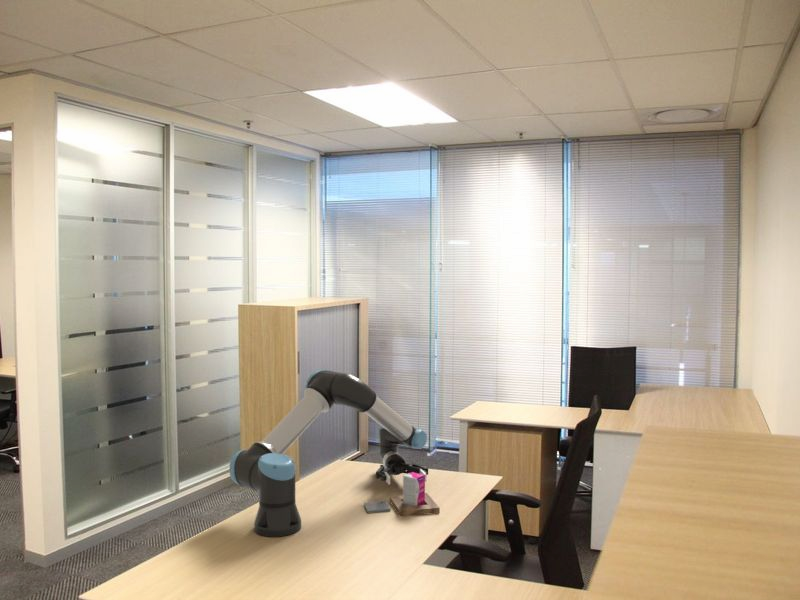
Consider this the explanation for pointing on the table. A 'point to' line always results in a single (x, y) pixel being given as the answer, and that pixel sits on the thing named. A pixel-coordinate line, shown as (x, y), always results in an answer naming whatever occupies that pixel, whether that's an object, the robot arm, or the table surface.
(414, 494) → the supplement box
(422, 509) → the board
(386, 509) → the coaster
